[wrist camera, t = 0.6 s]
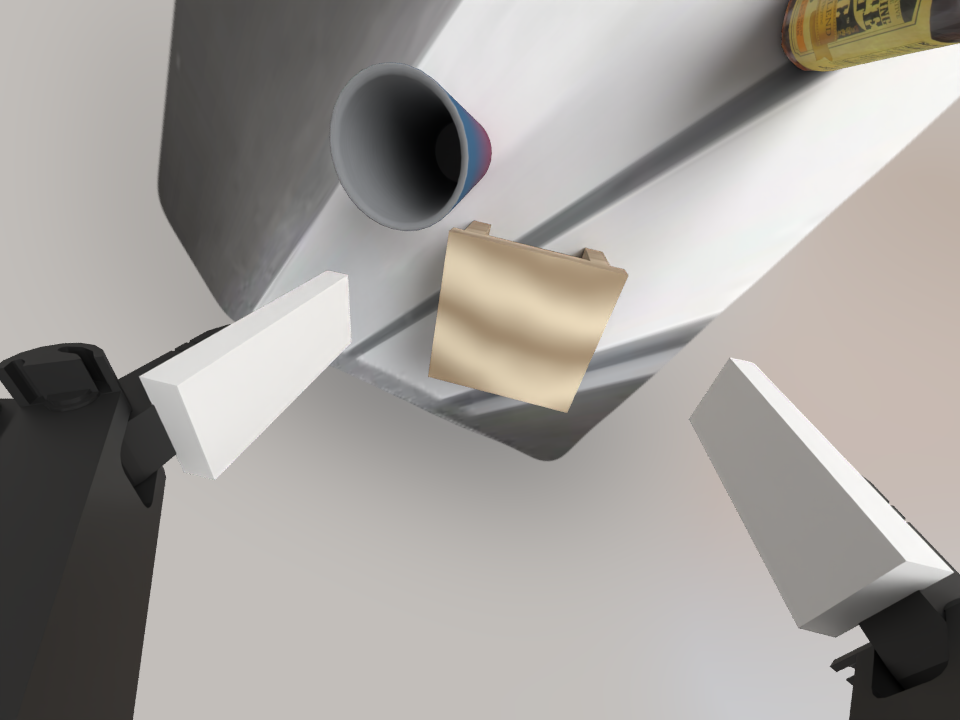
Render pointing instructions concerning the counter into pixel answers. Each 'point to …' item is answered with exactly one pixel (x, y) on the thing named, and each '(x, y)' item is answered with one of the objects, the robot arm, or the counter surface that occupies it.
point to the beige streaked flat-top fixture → (520, 317)
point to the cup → (405, 146)
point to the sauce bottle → (865, 30)
